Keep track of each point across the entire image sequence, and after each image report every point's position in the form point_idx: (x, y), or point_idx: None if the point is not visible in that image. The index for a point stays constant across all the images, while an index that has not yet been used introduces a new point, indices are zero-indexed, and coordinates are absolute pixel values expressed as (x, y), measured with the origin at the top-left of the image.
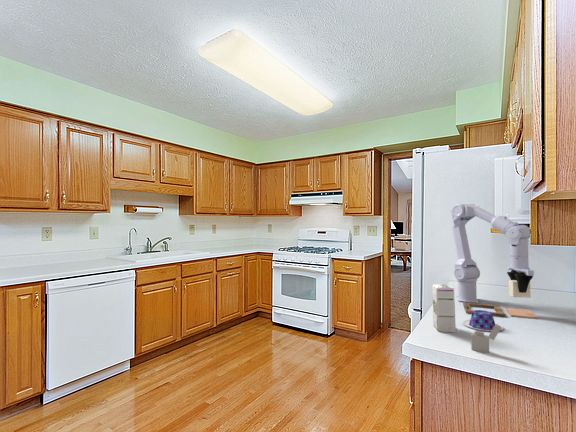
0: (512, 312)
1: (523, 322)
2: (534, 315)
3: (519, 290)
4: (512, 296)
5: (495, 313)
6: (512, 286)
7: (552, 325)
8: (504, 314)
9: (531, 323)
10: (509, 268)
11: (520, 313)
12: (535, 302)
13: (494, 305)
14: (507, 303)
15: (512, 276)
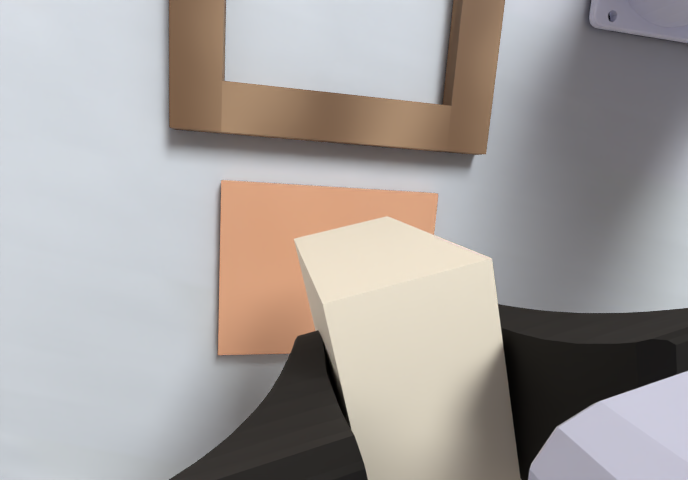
0: (311, 213)
1: (59, 228)
2: (271, 349)
3: (302, 339)
4: (313, 235)
5: (176, 42)
6: (328, 268)
7: (66, 406)
8: (169, 116)
9: (55, 279)
10: (604, 473)
11: (299, 265)
12: None
13: (477, 118)
14: (624, 255)
15: (570, 372)
